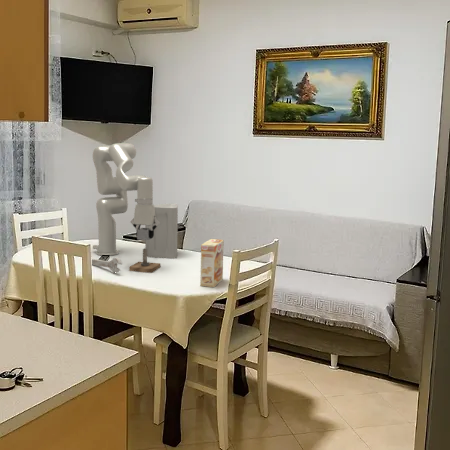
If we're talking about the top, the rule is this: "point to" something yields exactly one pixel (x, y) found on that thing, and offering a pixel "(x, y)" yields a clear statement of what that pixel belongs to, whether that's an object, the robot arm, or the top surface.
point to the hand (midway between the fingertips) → (145, 237)
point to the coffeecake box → (211, 262)
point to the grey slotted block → (143, 234)
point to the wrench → (108, 264)
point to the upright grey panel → (164, 233)
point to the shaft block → (144, 265)
